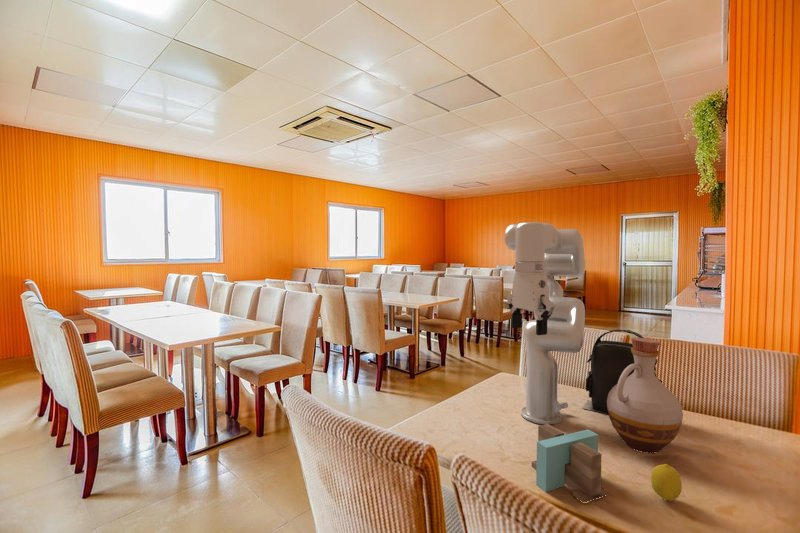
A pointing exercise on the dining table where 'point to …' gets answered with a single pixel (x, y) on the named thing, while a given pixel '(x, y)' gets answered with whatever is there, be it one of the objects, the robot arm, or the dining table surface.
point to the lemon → (666, 482)
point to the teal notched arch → (559, 457)
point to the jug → (644, 403)
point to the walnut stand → (578, 467)
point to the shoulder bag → (607, 369)
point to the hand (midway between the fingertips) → (528, 331)
